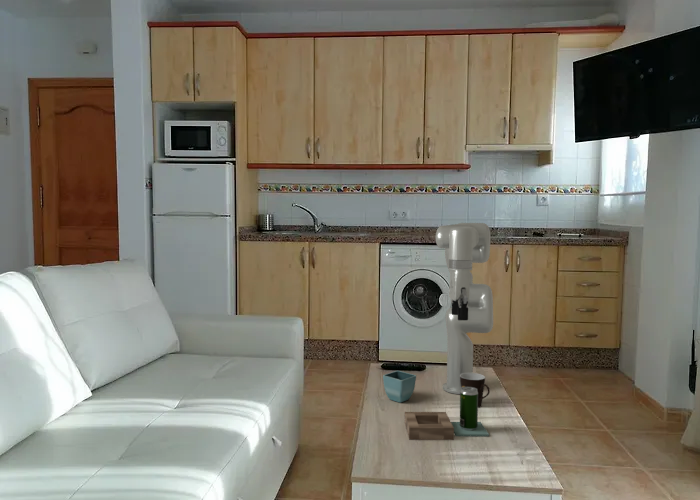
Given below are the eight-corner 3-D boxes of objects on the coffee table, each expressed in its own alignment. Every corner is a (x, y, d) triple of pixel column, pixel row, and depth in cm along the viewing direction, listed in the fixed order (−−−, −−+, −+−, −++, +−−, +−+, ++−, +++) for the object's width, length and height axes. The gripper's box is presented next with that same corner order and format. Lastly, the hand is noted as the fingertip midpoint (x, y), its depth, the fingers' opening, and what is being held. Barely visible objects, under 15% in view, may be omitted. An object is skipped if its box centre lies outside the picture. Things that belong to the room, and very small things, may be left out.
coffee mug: (456, 400, 189) (456, 372, 188) (480, 400, 190) (480, 372, 189) (466, 412, 177) (466, 382, 177) (491, 411, 178) (491, 382, 177)
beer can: (468, 432, 159) (469, 393, 158) (455, 426, 163) (456, 388, 163) (481, 428, 162) (482, 390, 161) (468, 423, 166) (469, 385, 166)
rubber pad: (448, 423, 167) (449, 421, 167) (480, 423, 167) (480, 421, 167) (455, 436, 157) (455, 434, 157) (489, 436, 157) (489, 434, 157)
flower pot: (416, 399, 189) (417, 375, 189) (401, 406, 183) (401, 380, 183) (397, 394, 195) (397, 370, 195) (382, 400, 189) (382, 375, 189)
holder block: (404, 422, 168) (404, 411, 168) (445, 422, 168) (445, 411, 168) (409, 439, 155) (409, 427, 155) (453, 439, 155) (453, 428, 155)
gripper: (444, 263, 181) (443, 312, 182) (454, 267, 164) (453, 322, 165) (466, 263, 181) (465, 312, 182) (478, 267, 164) (477, 322, 165)
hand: (459, 317), depth 174 cm, fingers open, 9 cm apart
